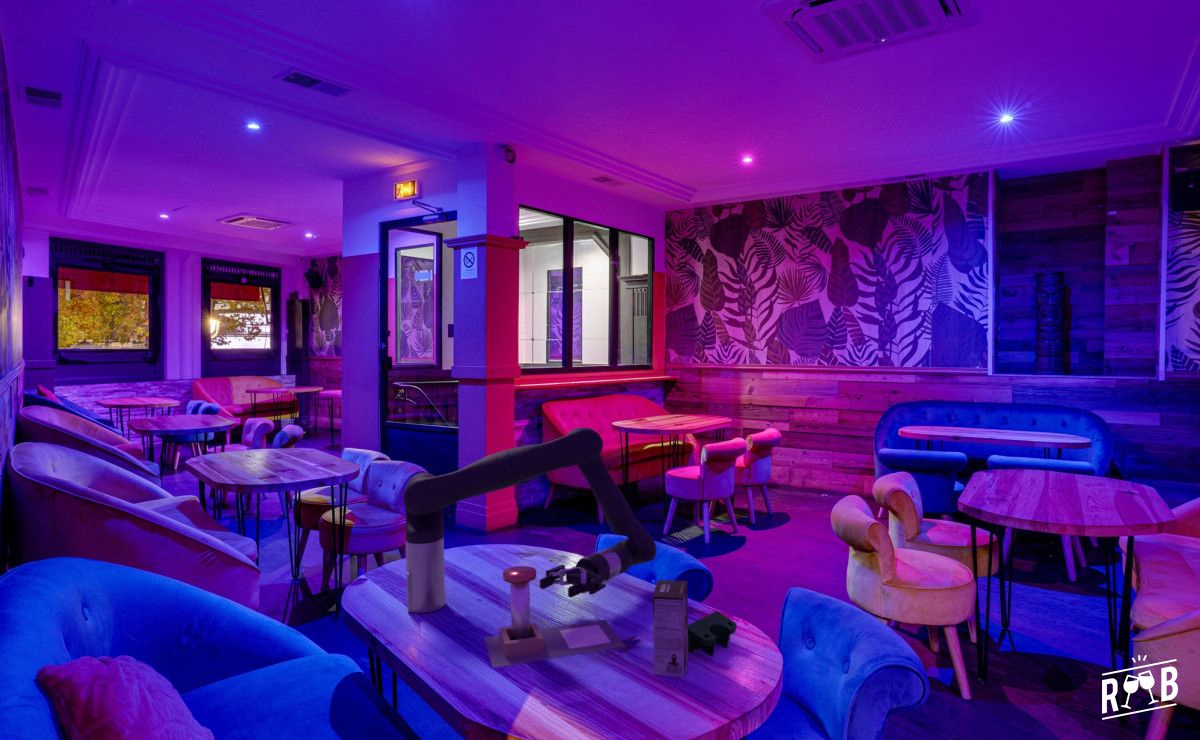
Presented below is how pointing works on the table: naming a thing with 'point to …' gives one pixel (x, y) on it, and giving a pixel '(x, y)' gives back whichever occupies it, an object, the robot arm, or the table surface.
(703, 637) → the clamp
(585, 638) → the board
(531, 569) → the mushroom shaped post
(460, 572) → the table surface
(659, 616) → the coffee box
